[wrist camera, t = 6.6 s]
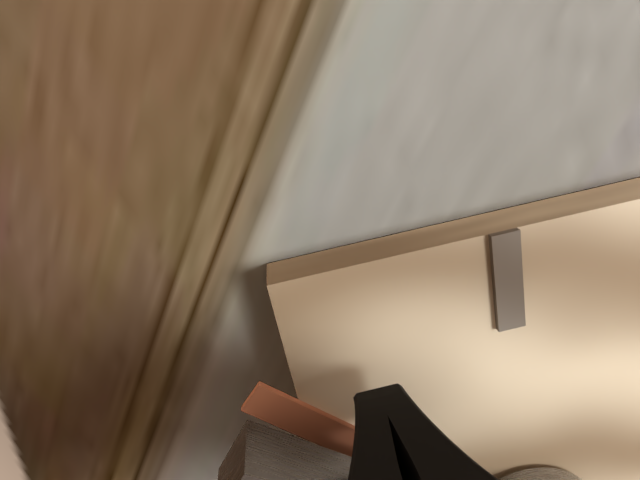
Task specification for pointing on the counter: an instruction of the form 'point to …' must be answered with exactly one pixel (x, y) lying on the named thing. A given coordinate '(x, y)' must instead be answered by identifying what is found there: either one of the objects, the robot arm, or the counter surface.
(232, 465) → the grey bar with knob
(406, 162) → the counter surface
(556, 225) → the cutting board
